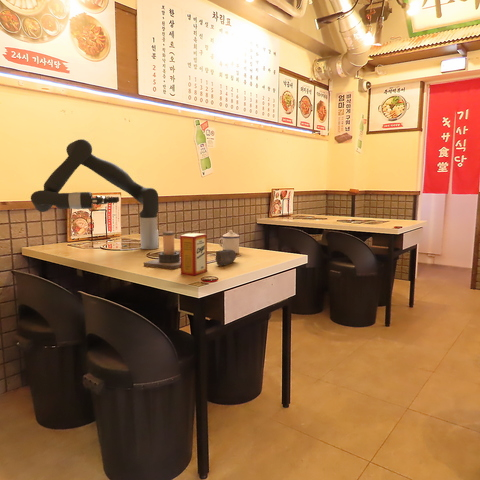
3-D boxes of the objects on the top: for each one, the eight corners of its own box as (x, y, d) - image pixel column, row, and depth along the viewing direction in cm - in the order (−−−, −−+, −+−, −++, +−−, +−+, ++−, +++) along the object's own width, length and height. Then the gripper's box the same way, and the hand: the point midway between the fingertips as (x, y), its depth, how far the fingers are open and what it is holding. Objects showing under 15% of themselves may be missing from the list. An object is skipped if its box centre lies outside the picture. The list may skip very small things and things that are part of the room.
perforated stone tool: (230, 260, 187) (230, 246, 186) (240, 262, 184) (240, 247, 183) (211, 266, 174) (211, 251, 173) (221, 268, 172) (221, 252, 171)
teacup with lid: (242, 252, 209) (242, 230, 207) (233, 254, 201) (233, 232, 200) (223, 250, 215) (223, 228, 214) (214, 252, 208) (214, 230, 206)
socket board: (166, 259, 189) (166, 249, 188) (194, 262, 181) (194, 252, 181) (143, 265, 175) (143, 254, 174) (172, 269, 168) (172, 258, 167)
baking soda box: (193, 269, 168) (193, 232, 166) (207, 271, 165) (206, 232, 163) (181, 274, 160) (180, 234, 157) (194, 275, 157) (194, 235, 154)
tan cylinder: (168, 259, 181) (167, 231, 179) (177, 260, 179) (176, 231, 177) (161, 261, 177) (160, 232, 175) (170, 262, 175) (169, 233, 172)
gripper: (77, 192, 172) (116, 192, 175) (82, 191, 186) (119, 191, 189) (78, 210, 173) (117, 209, 177) (84, 207, 187) (119, 206, 190)
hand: (118, 199), depth 183 cm, fingers open, 8 cm apart
